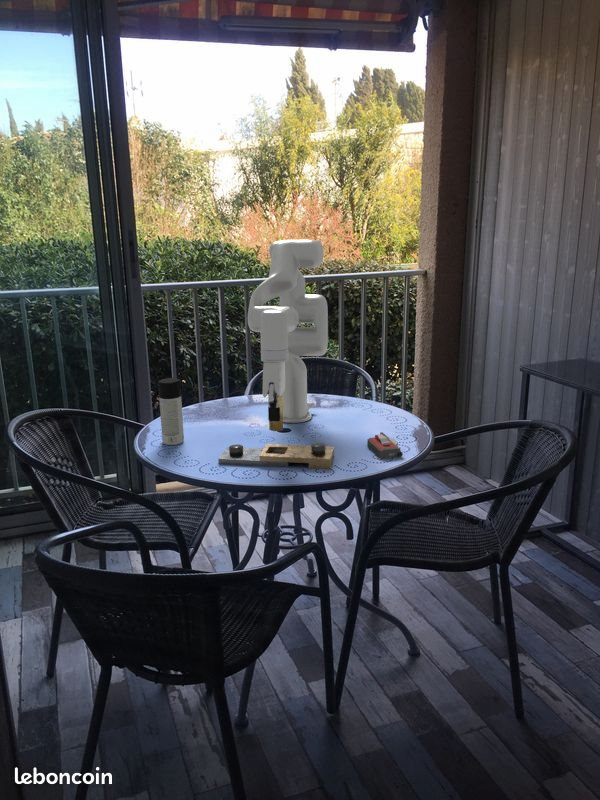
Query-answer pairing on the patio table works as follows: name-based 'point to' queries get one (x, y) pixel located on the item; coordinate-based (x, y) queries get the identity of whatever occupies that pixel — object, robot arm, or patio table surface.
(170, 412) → the spray can
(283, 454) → the peg insertion board
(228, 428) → the patio table surface
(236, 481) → the patio table surface
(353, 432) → the patio table surface
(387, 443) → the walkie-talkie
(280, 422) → the pin
